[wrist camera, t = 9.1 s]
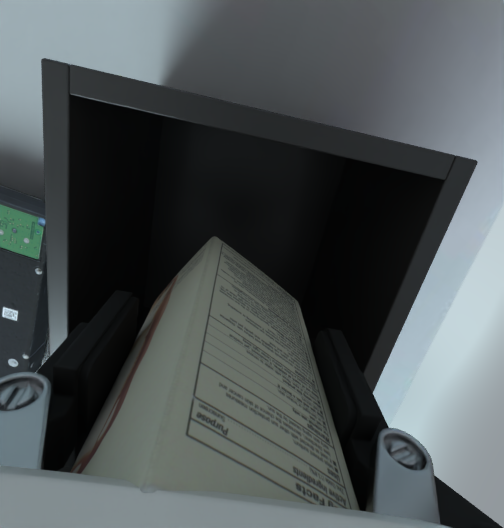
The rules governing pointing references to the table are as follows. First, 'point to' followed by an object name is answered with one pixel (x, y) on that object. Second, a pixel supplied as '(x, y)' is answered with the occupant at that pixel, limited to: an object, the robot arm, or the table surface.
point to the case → (235, 205)
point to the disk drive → (22, 282)
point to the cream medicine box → (221, 394)
